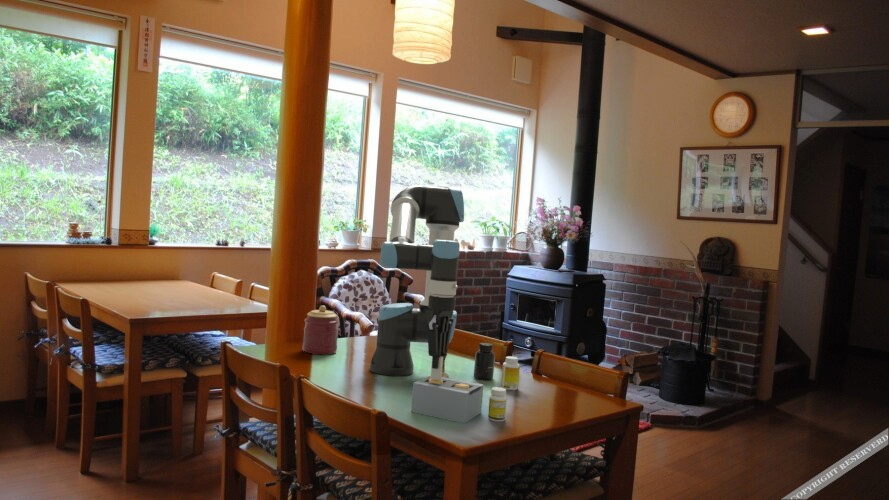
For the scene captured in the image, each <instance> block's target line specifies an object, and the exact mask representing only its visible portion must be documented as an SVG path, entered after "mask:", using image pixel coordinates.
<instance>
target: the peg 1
mask: <svg viewBox="0 0 889 500" xmlns="http://www.w3.org/2000/svg"><path fill="white" fill-rule="evenodd" d="M429 382H430V383H435V384H442V383H443V380H440V381H438V380H433V379H429Z"/></svg>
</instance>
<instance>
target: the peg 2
mask: <svg viewBox="0 0 889 500" xmlns="http://www.w3.org/2000/svg"><path fill="white" fill-rule="evenodd" d="M455 387H456V388H461V389H466V390H467V389H469V385H466V384H455Z"/></svg>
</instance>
